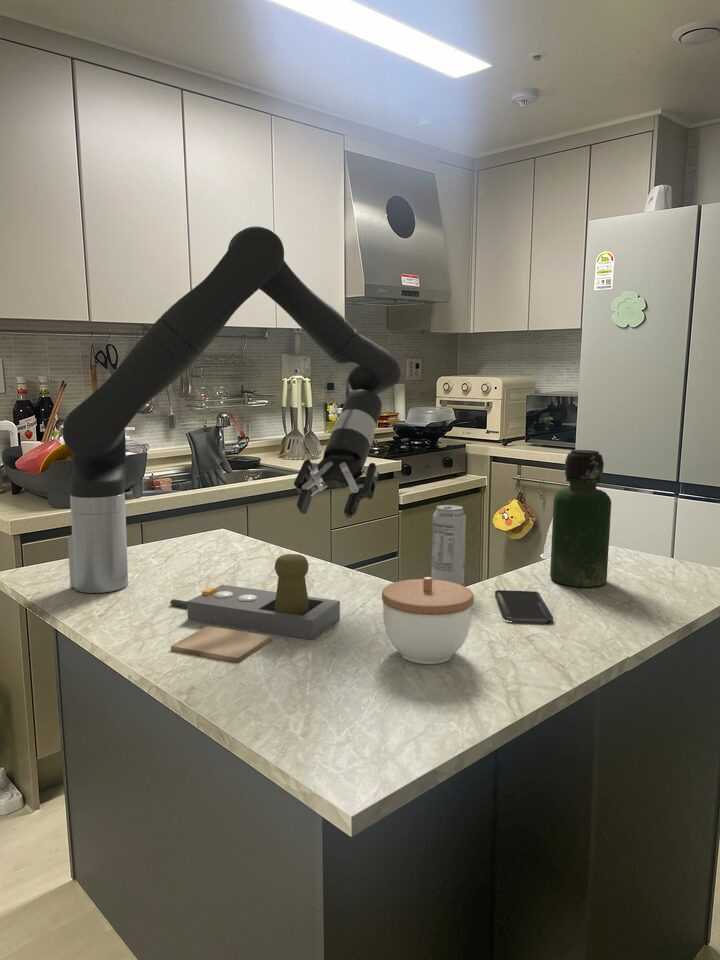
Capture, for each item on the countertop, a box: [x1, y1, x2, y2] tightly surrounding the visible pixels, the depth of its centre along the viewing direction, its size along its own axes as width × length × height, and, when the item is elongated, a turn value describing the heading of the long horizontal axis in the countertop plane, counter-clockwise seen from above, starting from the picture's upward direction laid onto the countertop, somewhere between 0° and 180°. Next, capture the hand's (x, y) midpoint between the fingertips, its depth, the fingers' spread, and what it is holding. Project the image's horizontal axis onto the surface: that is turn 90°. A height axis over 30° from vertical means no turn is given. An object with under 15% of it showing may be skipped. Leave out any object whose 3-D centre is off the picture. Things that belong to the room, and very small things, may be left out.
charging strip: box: [169, 584, 341, 641], centre depth 114 cm, size 29×10×4 cm, turn 68°
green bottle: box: [549, 449, 612, 588], centre depth 135 cm, size 10×10×25 cm
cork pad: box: [170, 625, 272, 663], centre depth 102 cm, size 11×9×1 cm
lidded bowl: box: [381, 576, 475, 665], centre depth 99 cm, size 13×13×11 cm
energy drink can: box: [430, 504, 467, 586], centre depth 131 cm, size 6×6×15 cm
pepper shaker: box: [274, 553, 309, 616], centre depth 110 cm, size 6×6×11 cm
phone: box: [494, 589, 554, 625], centre depth 120 cm, size 8×1×15 cm
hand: (324, 513), depth 120 cm, fingers open, 8 cm apart
